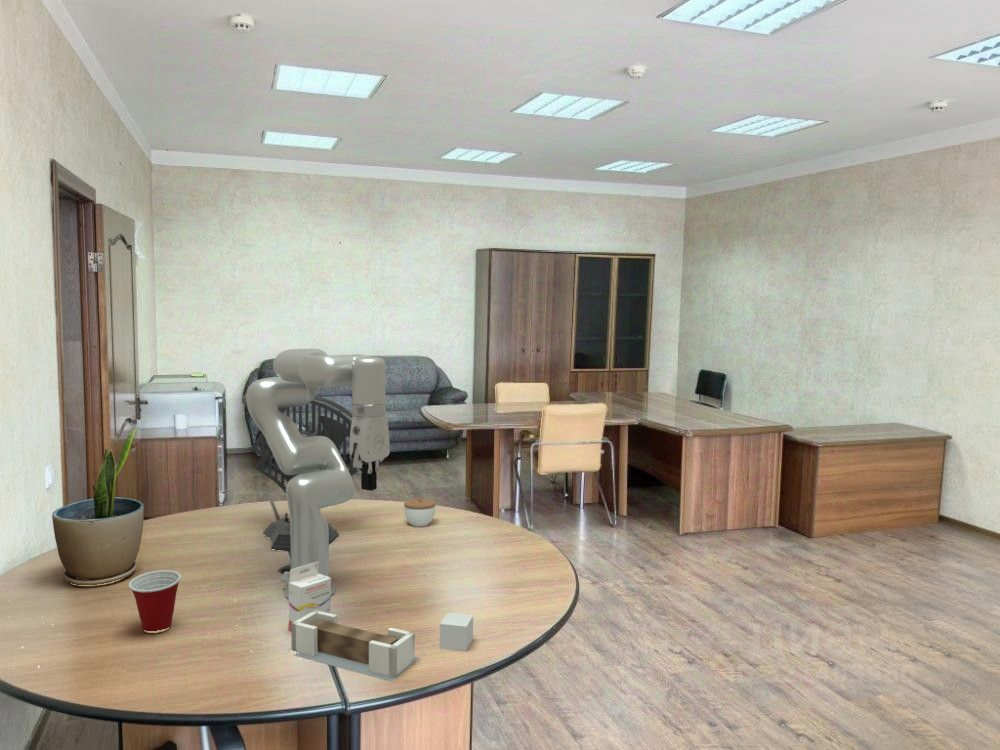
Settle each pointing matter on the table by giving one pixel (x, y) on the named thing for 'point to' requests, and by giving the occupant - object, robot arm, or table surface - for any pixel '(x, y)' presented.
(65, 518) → the potted plant
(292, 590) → the ink cartridge box
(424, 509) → the lidded jar
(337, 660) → the mat
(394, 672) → the end cap
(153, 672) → the table surface
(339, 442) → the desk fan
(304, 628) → the end cap
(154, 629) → the plastic cup
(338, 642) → the brown wooden block
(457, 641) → the gray cube
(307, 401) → the robot arm
